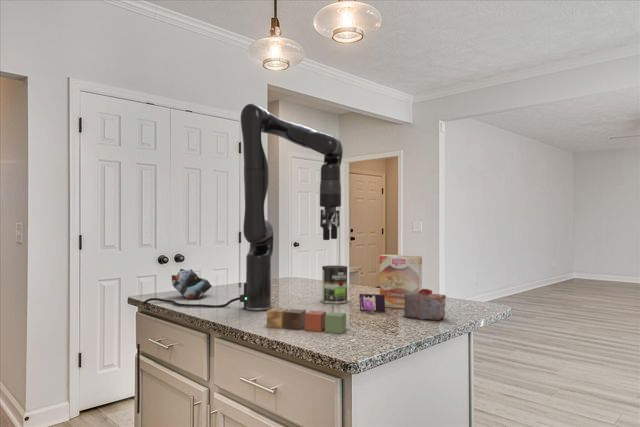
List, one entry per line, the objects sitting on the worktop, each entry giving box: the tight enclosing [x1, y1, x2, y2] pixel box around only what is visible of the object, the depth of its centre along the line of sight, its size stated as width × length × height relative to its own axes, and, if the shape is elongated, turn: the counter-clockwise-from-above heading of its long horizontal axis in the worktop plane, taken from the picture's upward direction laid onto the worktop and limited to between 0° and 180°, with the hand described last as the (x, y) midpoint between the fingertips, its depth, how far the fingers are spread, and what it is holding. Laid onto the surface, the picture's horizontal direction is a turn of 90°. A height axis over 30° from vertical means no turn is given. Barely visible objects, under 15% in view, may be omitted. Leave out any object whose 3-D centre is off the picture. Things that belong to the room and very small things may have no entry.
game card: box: [358, 293, 386, 314], centre depth 159 cm, size 7×5×9 cm
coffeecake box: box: [379, 254, 423, 310], centre depth 170 cm, size 15×7×20 cm, turn 68°
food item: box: [404, 288, 447, 321], centre depth 151 cm, size 14×8×10 cm, turn 62°
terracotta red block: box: [304, 309, 327, 333], centre depth 135 cm, size 5×5×5 cm
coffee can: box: [321, 265, 348, 305], centre depth 181 cm, size 10×10×14 cm
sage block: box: [324, 311, 347, 334], centre depth 133 cm, size 5×5×5 cm
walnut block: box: [284, 308, 307, 331], centre depth 137 cm, size 5×5×5 cm
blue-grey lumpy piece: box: [170, 268, 213, 300], centre depth 190 cm, size 15×12×14 cm
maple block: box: [266, 307, 289, 329], centre depth 139 cm, size 5×5×5 cm
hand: (330, 239), depth 157 cm, fingers open, 8 cm apart
